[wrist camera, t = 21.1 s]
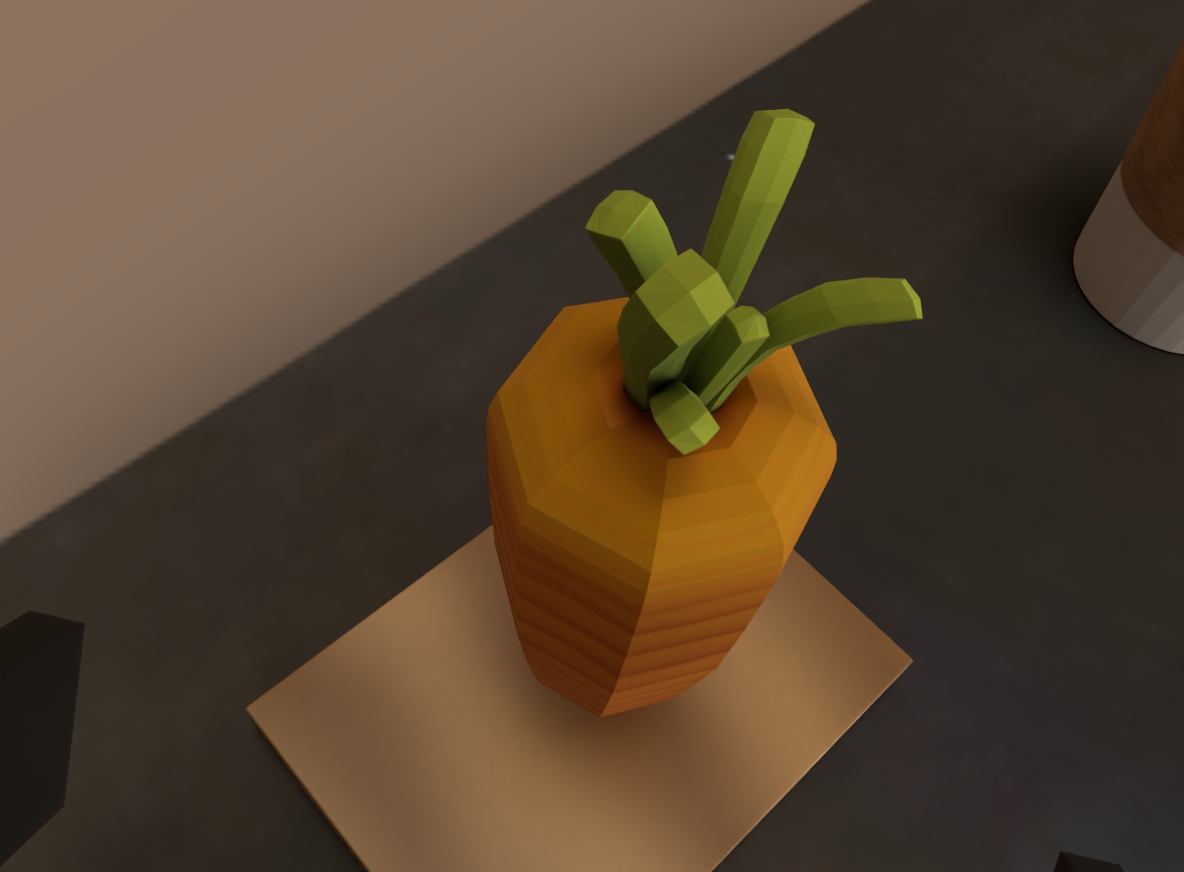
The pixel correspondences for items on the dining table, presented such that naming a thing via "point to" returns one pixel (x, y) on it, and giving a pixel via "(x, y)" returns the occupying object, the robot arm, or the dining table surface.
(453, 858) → the board
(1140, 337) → the coffee cup
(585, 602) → the carrot
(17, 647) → the robot arm
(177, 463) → the dining table surface
